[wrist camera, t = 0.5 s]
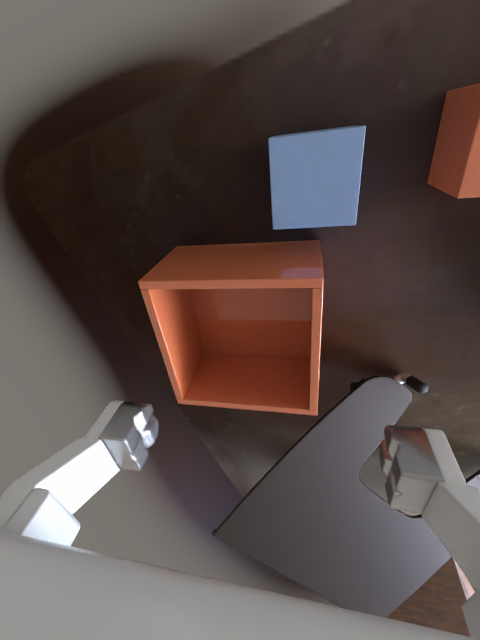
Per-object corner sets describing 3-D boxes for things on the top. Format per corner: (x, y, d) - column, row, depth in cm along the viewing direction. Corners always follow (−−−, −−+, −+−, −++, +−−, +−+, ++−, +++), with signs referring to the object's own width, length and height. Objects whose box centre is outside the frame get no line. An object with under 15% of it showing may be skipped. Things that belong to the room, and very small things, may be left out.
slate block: (276, 135, 18) (268, 137, 14) (354, 125, 17) (365, 125, 13) (279, 211, 20) (272, 229, 17) (347, 206, 19) (356, 225, 16)
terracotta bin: (176, 246, 23) (137, 281, 18) (320, 239, 21) (323, 278, 16) (201, 353, 29) (177, 403, 24) (315, 358, 27) (317, 416, 22)
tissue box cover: (352, 556, 48) (361, 645, 40) (452, 556, 41) (487, 661, 33) (405, 615, 57) (421, 696, 49) (493, 622, 51) (527, 716, 43)
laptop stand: (471, 438, 36) (556, 499, 27) (346, 561, 39) (386, 653, 30) (344, 328, 31) (398, 358, 22) (210, 477, 34) (210, 558, 25)
